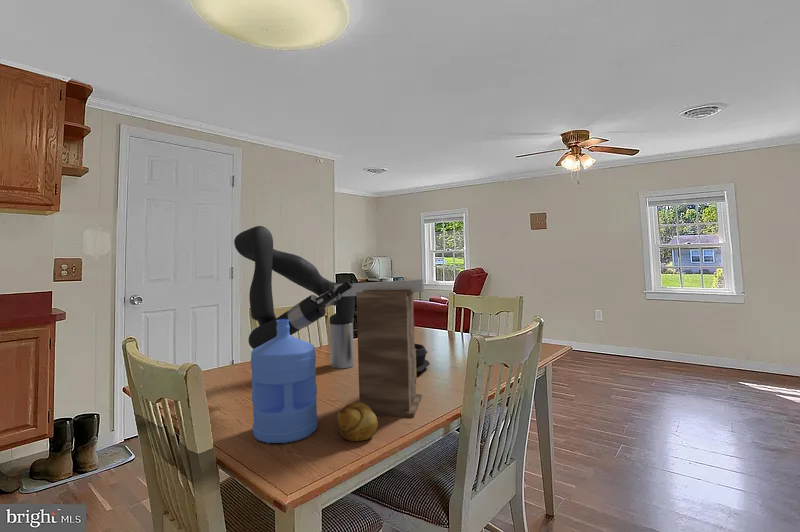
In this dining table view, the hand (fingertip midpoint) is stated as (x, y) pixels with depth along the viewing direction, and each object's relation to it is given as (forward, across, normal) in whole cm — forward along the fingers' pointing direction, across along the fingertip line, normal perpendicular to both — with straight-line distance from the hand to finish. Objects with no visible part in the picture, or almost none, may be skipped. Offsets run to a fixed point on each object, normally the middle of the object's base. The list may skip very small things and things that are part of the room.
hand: (351, 283), depth 120 cm
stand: (-8, -3, +36) cm, 37 cm away
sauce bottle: (-7, +17, +37) cm, 42 cm away
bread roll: (-11, -21, +35) cm, 42 cm away
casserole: (-10, +36, +35) cm, 52 cm away
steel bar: (+5, 0, +6) cm, 8 cm away
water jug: (-27, -23, +25) cm, 44 cm away
